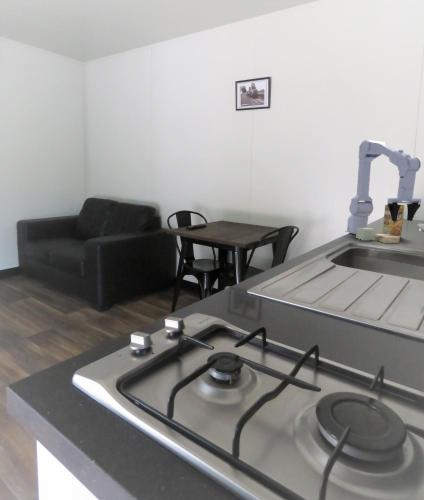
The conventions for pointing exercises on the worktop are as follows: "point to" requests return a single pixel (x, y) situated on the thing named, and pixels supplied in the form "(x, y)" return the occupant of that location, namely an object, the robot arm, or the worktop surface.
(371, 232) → the sage cube
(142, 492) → the worktop surface
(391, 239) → the beech block
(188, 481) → the worktop surface
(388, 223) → the candy box
